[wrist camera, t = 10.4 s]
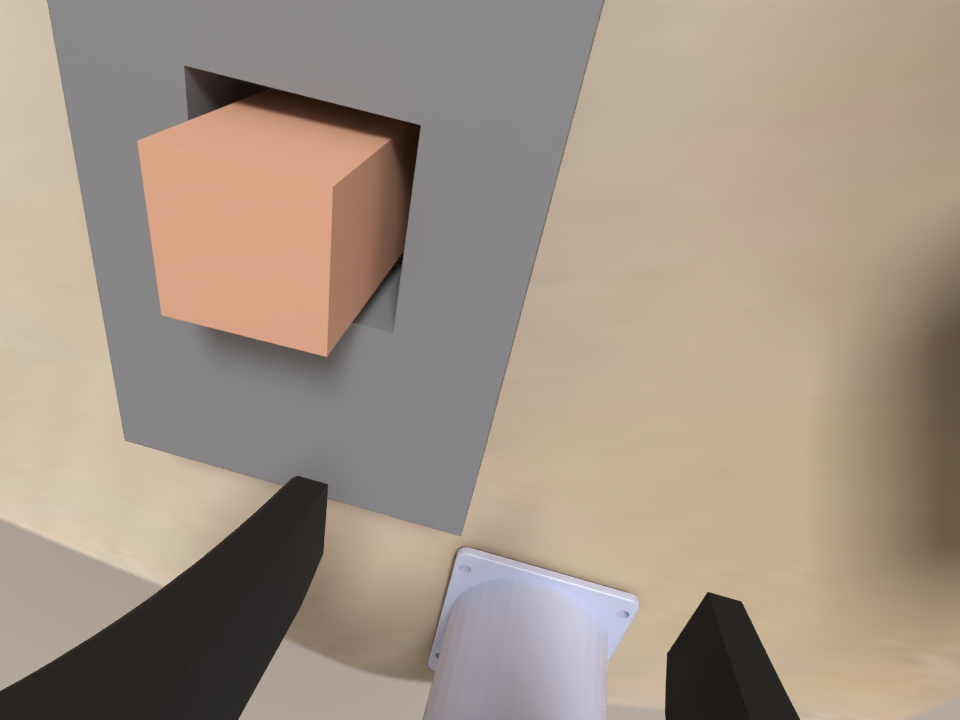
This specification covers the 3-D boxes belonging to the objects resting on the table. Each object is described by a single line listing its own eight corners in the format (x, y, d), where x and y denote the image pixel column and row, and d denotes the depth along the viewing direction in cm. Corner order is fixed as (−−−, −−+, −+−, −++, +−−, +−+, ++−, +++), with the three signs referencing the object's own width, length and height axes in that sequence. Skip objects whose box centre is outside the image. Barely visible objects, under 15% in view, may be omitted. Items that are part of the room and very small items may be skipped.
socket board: (482, 457, 24) (460, 536, 21) (190, 375, 25) (124, 440, 22) (666, -233, 13) (681, -295, 10) (125, -351, 14) (-33, -447, 10)
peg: (411, 240, 20) (326, 356, 14) (292, 211, 20) (161, 314, 15) (426, 110, 18) (332, 186, 12) (291, 79, 18) (137, 140, 12)
